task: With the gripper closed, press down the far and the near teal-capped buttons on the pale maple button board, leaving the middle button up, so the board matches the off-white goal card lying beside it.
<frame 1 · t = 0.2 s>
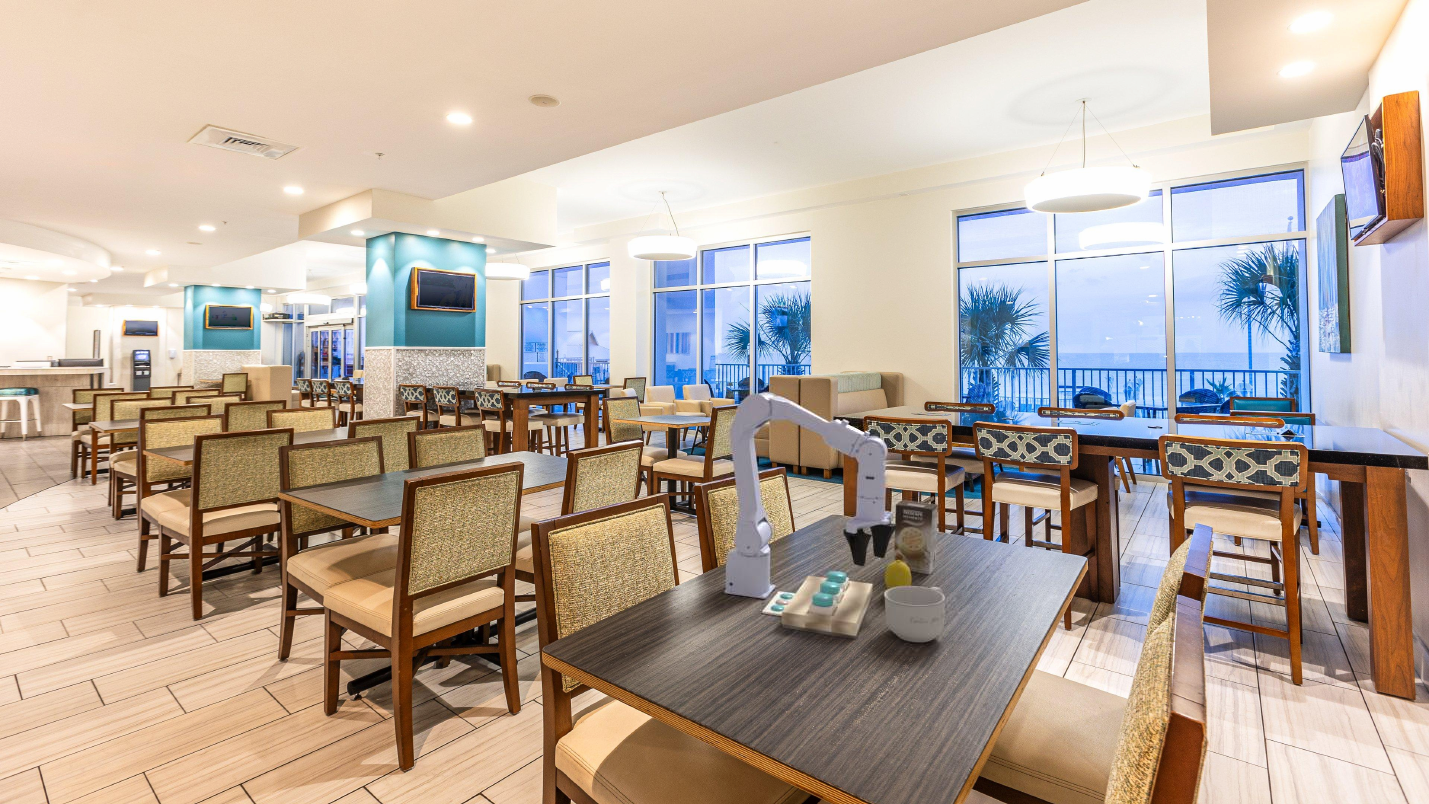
hand: (869, 560, 130), 10 cm above the table, fingers open, 7 cm apart
teacup: (919, 634, 118), on the table
button board: (829, 611, 128), on the table
button mid: (830, 592, 128), point 4 cm above the table, slide at 0.0 cm
coffee box: (914, 568, 156), on the table
lemon: (897, 596, 137), on the table
button near: (822, 605, 122), point 4 cm above the table, slide at 0.0 cm
button far: (836, 581, 135), point 4 cm above the table, slide at 0.0 cm
goal card: (782, 604, 132), on the table
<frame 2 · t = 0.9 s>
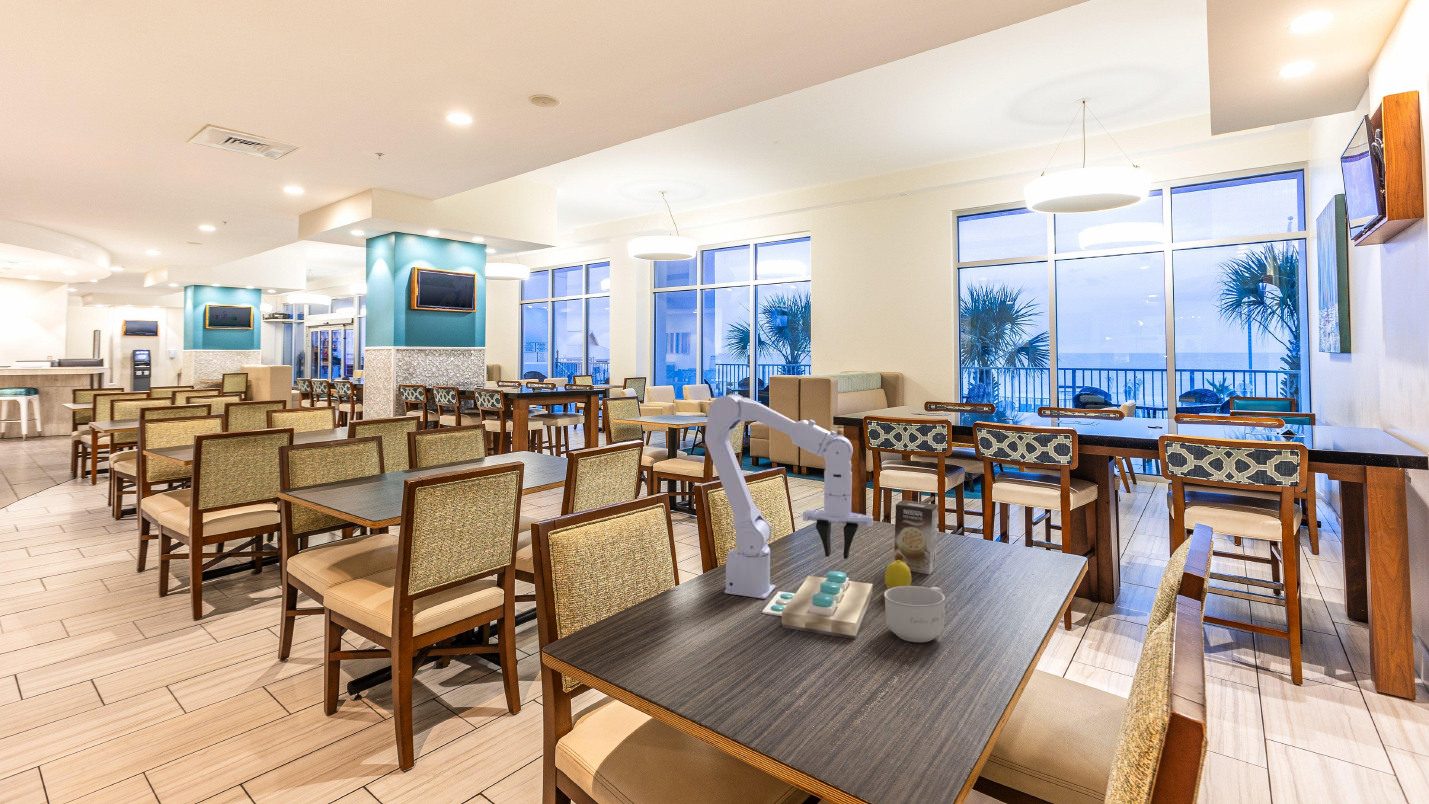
hand: (836, 556, 134), 9 cm above the table, fingers open, 3 cm apart
nothing on the table moved.
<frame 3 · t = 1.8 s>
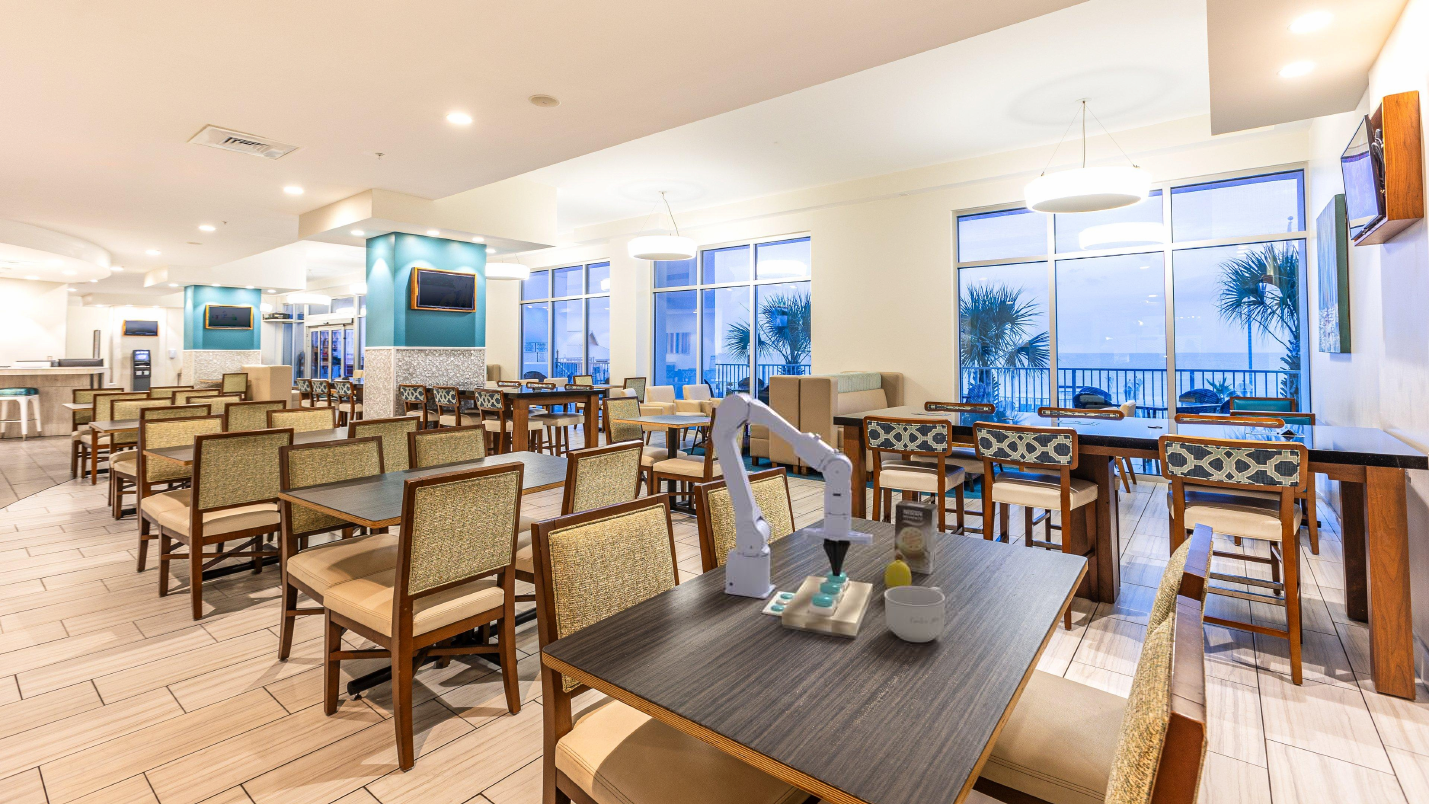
hand: (836, 574, 134), 5 cm above the table, fingers closed, pressing on button far
button far: (836, 581, 135), point 4 cm above the table, slide at 0.0 cm, touching gripper
everything else where it was.
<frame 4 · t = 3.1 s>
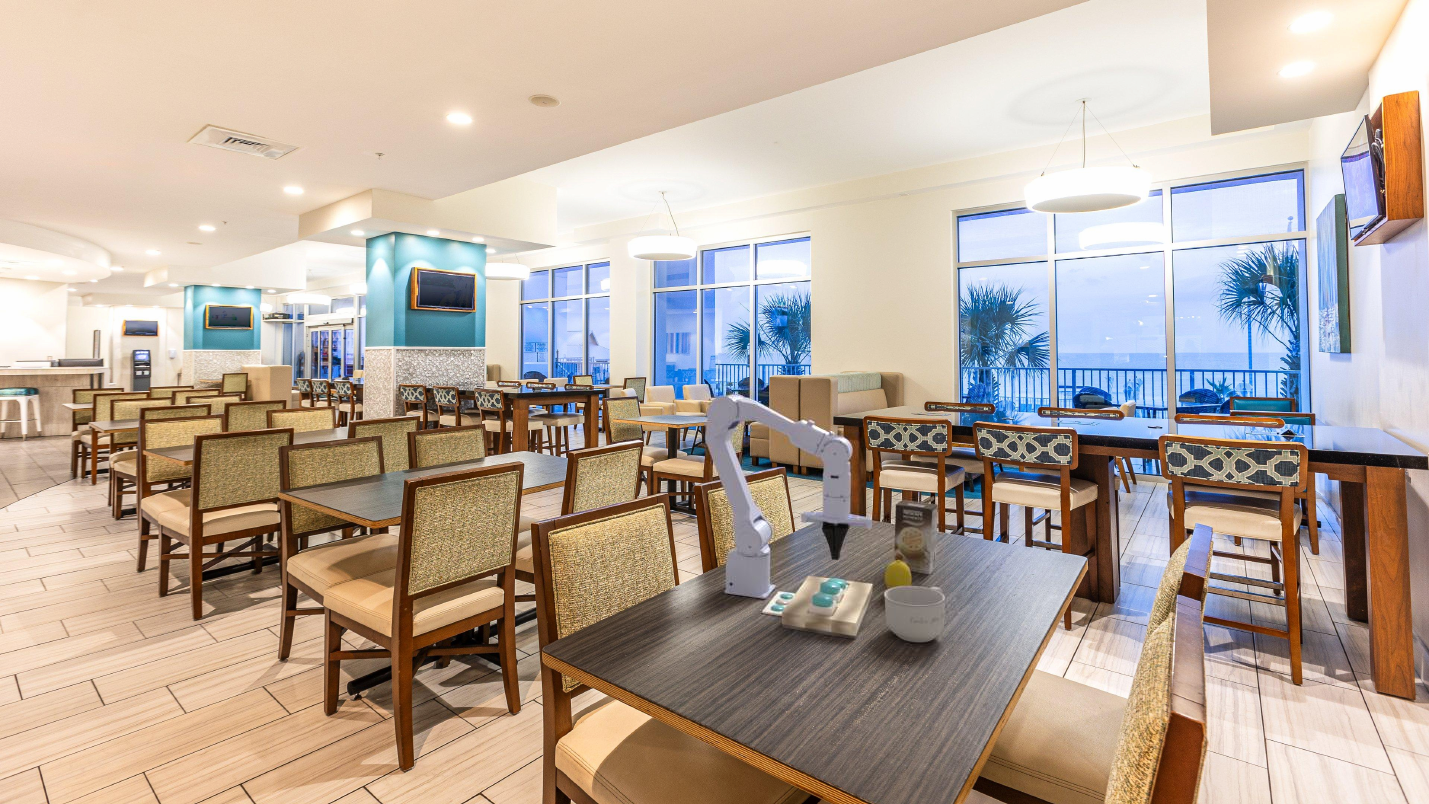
hand: (835, 558, 133), 9 cm above the table, fingers closed
button far: (836, 588, 135), point 2 cm above the table, slide at 1.6 cm
everything else where it was.
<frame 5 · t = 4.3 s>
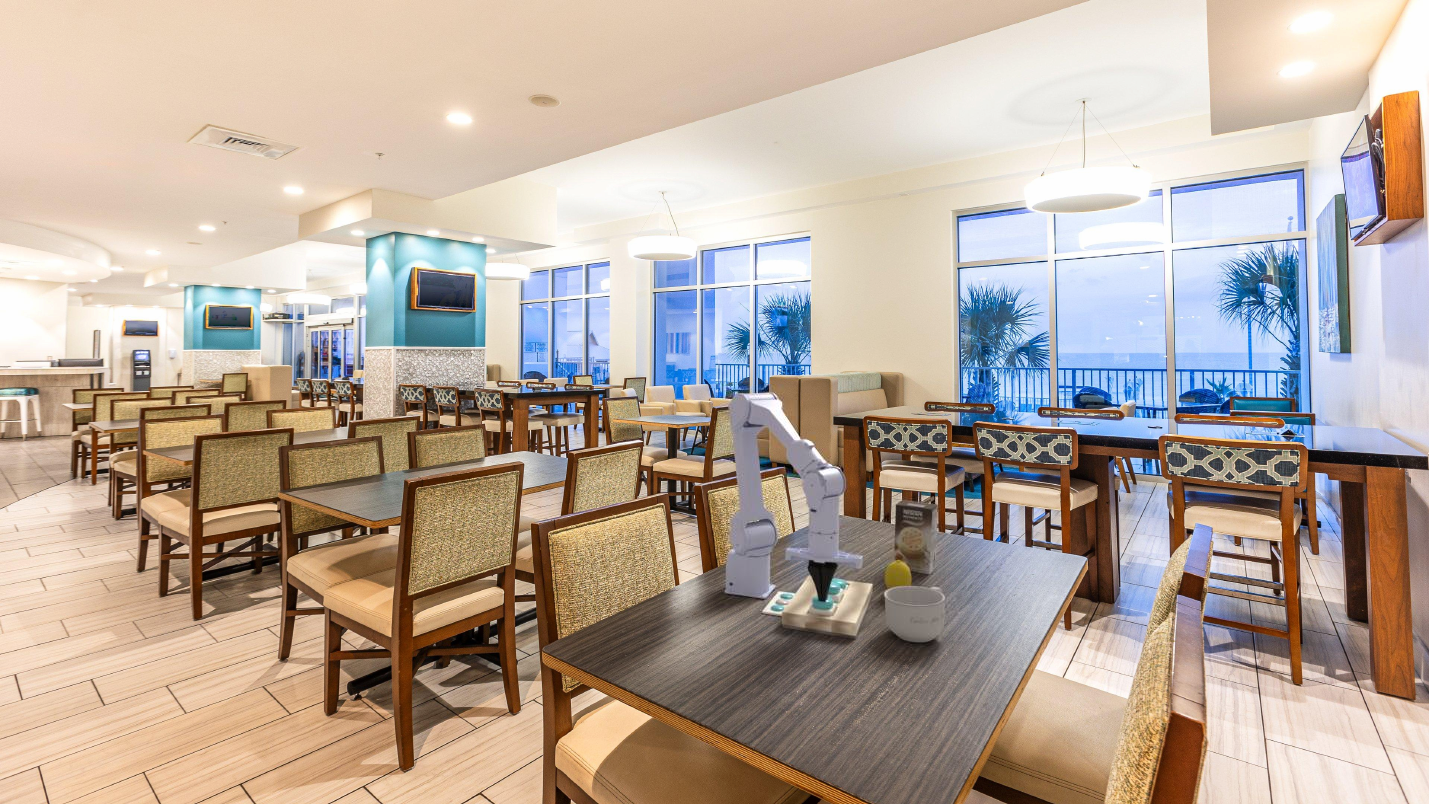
hand: (822, 599, 121), 5 cm above the table, fingers closed, pressing on button near
button near: (822, 607, 122), point 3 cm above the table, slide at 0.5 cm, touching gripper
everything else where it was.
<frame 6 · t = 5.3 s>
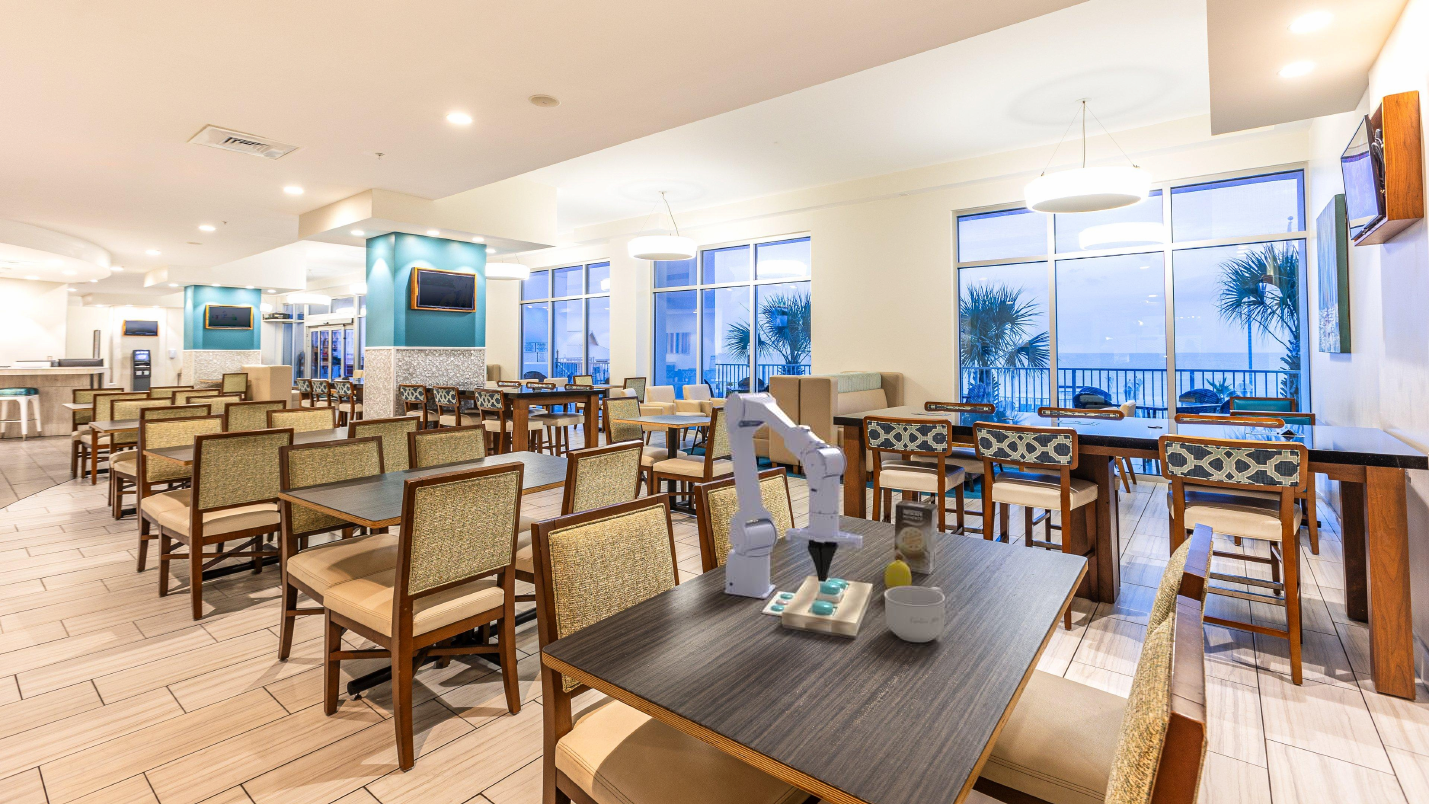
hand: (822, 579, 121), 9 cm above the table, fingers closed
button near: (822, 613, 122), point 2 cm above the table, slide at 1.6 cm
everything else where it was.
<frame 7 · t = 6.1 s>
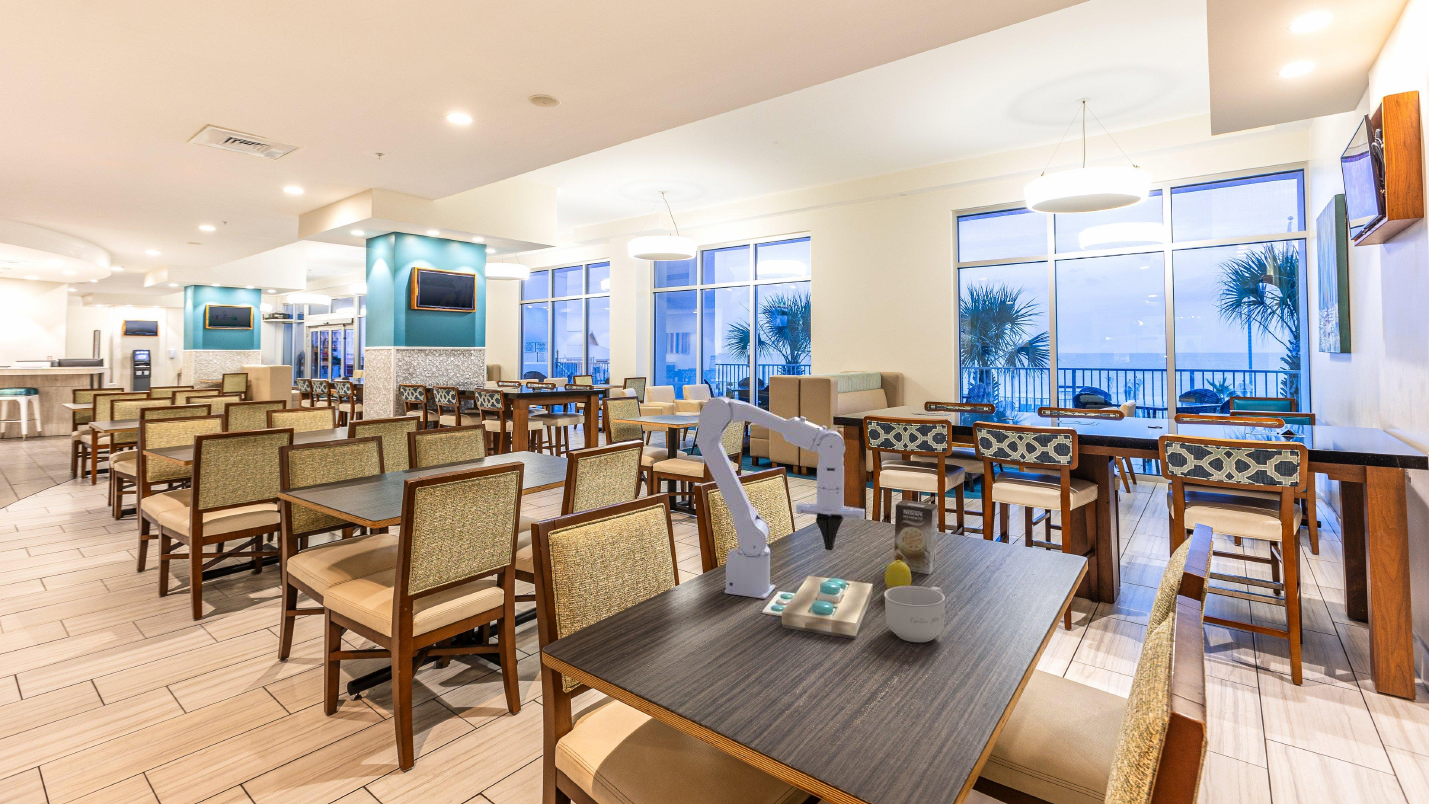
hand: (829, 548, 136), 10 cm above the table, fingers closed
nothing on the table moved.
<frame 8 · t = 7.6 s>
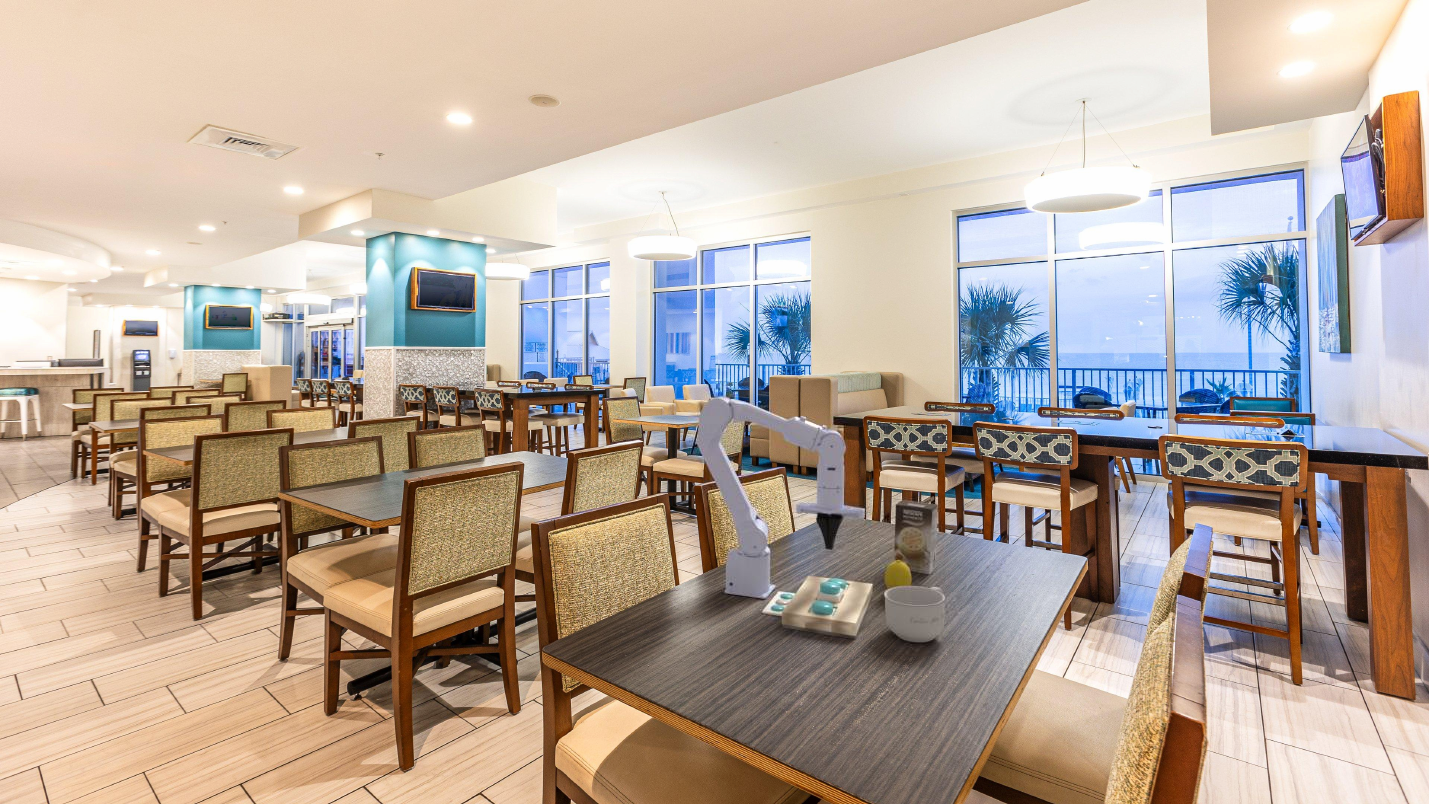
hand: (829, 548, 137), 10 cm above the table, fingers closed
nothing on the table moved.
at the end: button far slide at 1.6 cm; button near slide at 1.6 cm; button mid slide at 0.0 cm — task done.
